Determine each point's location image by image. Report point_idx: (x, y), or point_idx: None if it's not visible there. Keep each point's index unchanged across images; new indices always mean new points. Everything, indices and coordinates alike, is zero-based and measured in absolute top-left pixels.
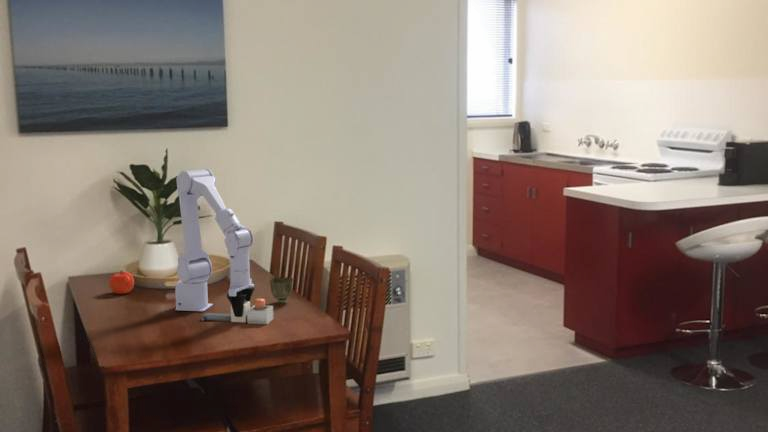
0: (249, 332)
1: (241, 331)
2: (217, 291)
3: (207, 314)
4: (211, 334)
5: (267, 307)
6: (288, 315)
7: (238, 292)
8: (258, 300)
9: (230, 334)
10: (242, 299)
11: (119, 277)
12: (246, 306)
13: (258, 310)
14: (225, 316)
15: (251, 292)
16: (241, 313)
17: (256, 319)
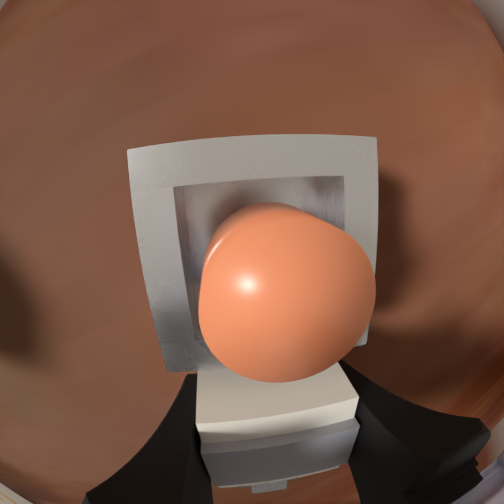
0: (462, 205)
1: (451, 254)
2: (5, 472)
3: (276, 483)
4: (465, 348)
5: (177, 202)
6: (60, 95)
7: (463, 494)
8: (337, 315)
9: (477, 281)
10: (460, 419)
11: None
12: (305, 391)
13: (368, 238)
14: None
15: (180, 500)
16: (348, 367)
17: None
